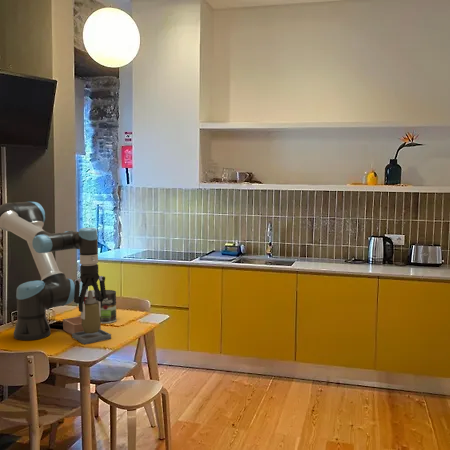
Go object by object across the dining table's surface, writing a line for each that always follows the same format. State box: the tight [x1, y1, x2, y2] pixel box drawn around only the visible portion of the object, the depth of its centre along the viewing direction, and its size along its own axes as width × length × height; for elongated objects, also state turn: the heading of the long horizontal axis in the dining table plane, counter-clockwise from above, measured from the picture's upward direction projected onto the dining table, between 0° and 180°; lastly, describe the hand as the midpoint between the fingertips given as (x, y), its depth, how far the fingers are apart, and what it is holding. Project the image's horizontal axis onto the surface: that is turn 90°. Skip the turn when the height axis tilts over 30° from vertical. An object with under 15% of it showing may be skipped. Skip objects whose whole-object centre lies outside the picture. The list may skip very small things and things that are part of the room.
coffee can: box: [94, 289, 117, 325], centre depth 267 cm, size 10×10×14 cm
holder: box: [62, 315, 102, 335], centre depth 252 cm, size 12×12×5 cm
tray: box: [71, 328, 112, 345], centre depth 240 cm, size 12×12×2 cm
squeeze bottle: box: [82, 290, 102, 333], centre depth 239 cm, size 8×8×18 cm
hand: (90, 317), depth 239 cm, fingers closed on squeeze bottle, 6 cm apart
